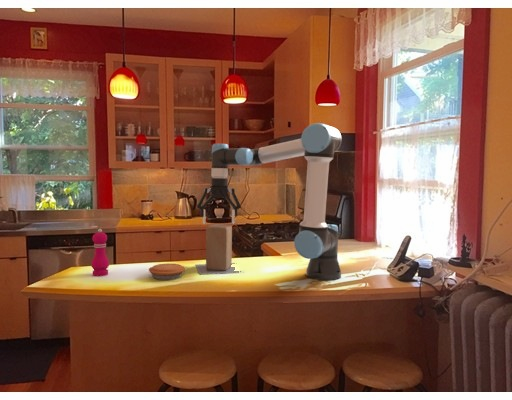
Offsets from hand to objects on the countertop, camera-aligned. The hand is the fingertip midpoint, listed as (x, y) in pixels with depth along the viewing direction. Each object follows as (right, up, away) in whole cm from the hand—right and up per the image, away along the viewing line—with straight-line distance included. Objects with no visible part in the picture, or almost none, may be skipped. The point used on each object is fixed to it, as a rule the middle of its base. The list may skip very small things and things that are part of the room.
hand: (218, 223), depth 197 cm
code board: (0, -21, +1) cm, 21 cm away
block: (0, -21, +1) cm, 21 cm away
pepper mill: (-50, -22, -13) cm, 56 cm away
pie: (-21, -22, -15) cm, 34 cm away
